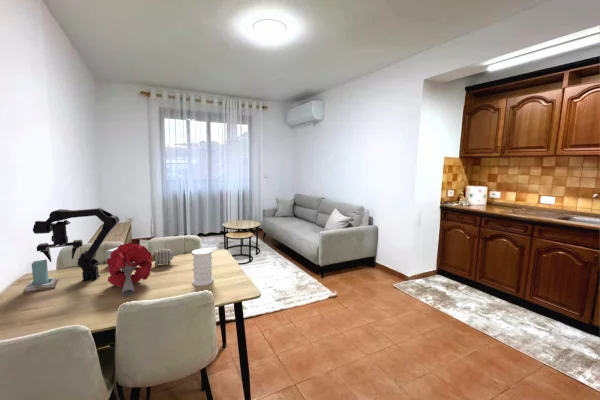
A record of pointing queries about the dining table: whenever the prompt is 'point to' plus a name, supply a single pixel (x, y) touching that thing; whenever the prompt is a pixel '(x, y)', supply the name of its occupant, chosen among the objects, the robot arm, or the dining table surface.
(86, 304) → the dining table surface
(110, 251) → the small box
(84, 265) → the robot arm
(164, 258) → the toy sheep
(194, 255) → the decorative container
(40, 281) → the block
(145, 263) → the red model tree
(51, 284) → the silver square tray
